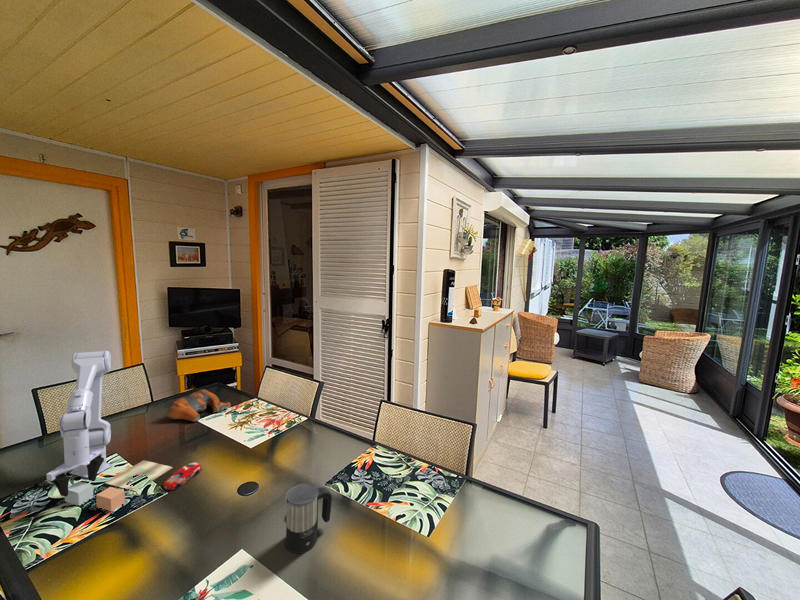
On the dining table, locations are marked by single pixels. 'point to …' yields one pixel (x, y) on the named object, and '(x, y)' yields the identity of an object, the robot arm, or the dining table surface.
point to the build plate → (142, 468)
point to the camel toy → (195, 405)
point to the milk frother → (305, 516)
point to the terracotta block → (110, 498)
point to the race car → (182, 476)
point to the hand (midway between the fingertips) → (78, 487)
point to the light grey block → (79, 493)
